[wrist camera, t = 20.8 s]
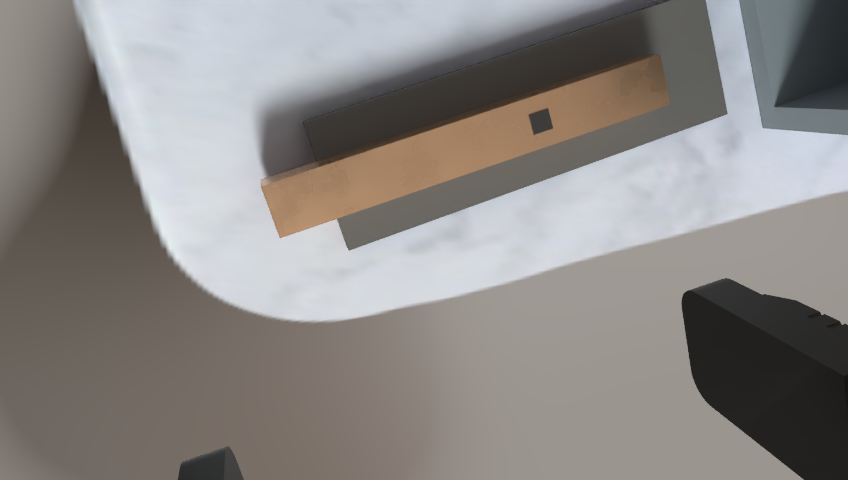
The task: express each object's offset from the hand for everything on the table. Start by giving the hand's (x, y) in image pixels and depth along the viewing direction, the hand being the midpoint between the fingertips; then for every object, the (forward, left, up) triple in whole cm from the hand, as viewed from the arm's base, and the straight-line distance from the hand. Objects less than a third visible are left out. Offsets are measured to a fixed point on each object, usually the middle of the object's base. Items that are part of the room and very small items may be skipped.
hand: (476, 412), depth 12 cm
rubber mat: (+7, +11, -33) cm, 35 cm away
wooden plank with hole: (+5, +7, -32) cm, 33 cm away
